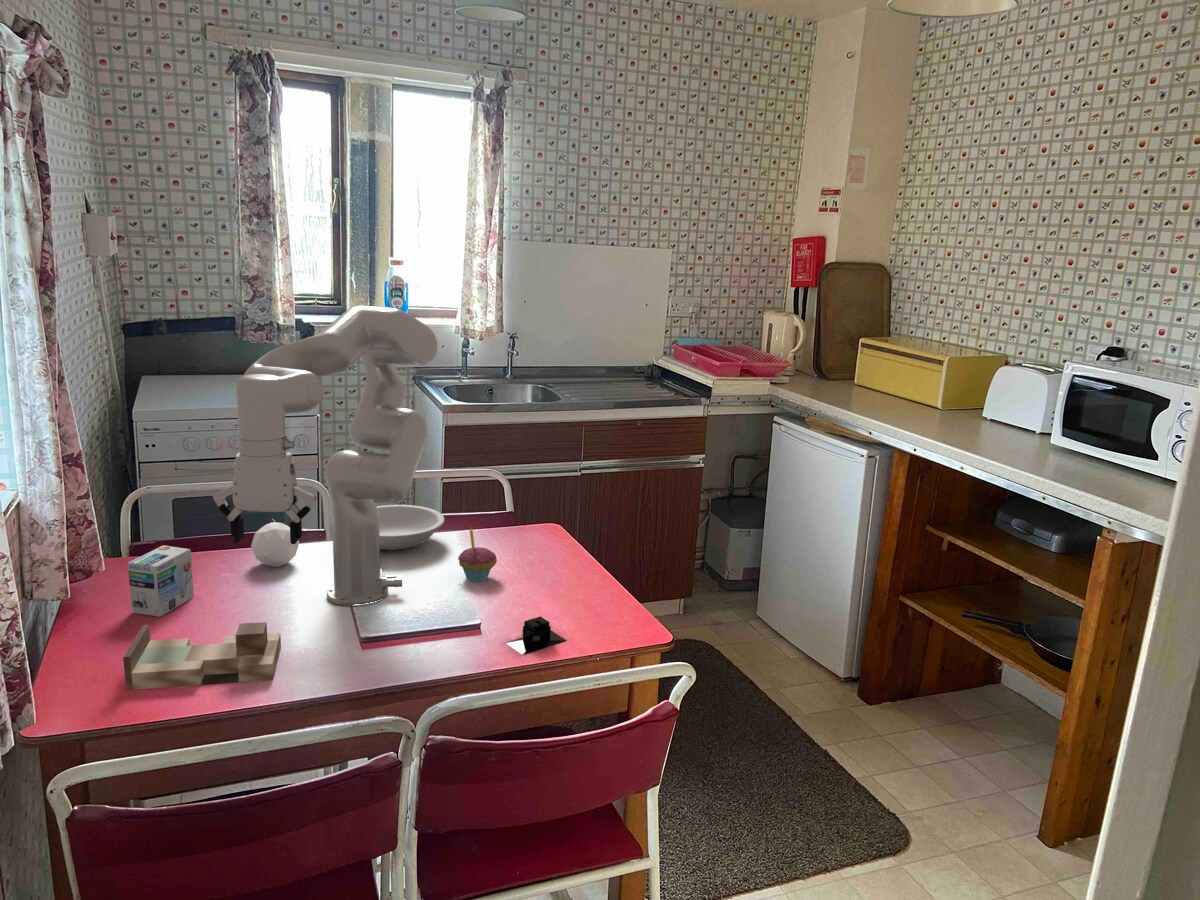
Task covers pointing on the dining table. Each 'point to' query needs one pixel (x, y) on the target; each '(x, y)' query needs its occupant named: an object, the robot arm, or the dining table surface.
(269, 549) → the ornament
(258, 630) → the walnut block
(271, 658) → the track
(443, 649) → the dining table surface
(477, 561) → the cupcake
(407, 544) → the soup bowl
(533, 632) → the build plate
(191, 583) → the light bulb box
